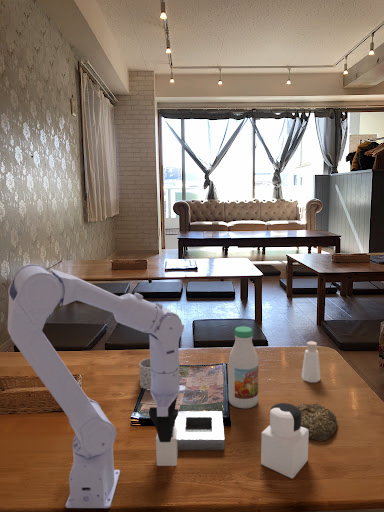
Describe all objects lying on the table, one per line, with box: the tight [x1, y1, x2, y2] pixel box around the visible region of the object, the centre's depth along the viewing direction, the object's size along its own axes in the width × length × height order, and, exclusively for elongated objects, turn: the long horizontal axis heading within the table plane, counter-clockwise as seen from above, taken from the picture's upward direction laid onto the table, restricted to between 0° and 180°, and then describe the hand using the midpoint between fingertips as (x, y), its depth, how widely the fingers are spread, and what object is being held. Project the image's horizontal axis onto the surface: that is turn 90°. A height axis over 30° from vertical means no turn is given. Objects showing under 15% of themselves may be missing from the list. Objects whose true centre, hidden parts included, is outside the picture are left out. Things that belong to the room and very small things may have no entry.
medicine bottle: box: [260, 402, 309, 479], centre depth 82 cm, size 7×7×12 cm
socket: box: [173, 410, 225, 451], centre depth 93 cm, size 11×11×2 cm
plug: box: [155, 426, 179, 467], centre depth 84 cm, size 4×4×6 cm
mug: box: [138, 357, 151, 389], centre depth 118 cm, size 10×7×7 cm
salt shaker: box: [300, 340, 321, 383], centre depth 119 cm, size 5×5×11 cm
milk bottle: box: [227, 325, 259, 409], centre depth 106 cm, size 8×8×20 cm
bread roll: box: [295, 403, 338, 442], centre depth 97 cm, size 13×12×5 cm
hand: (166, 429), depth 84 cm, fingers open, 7 cm apart
